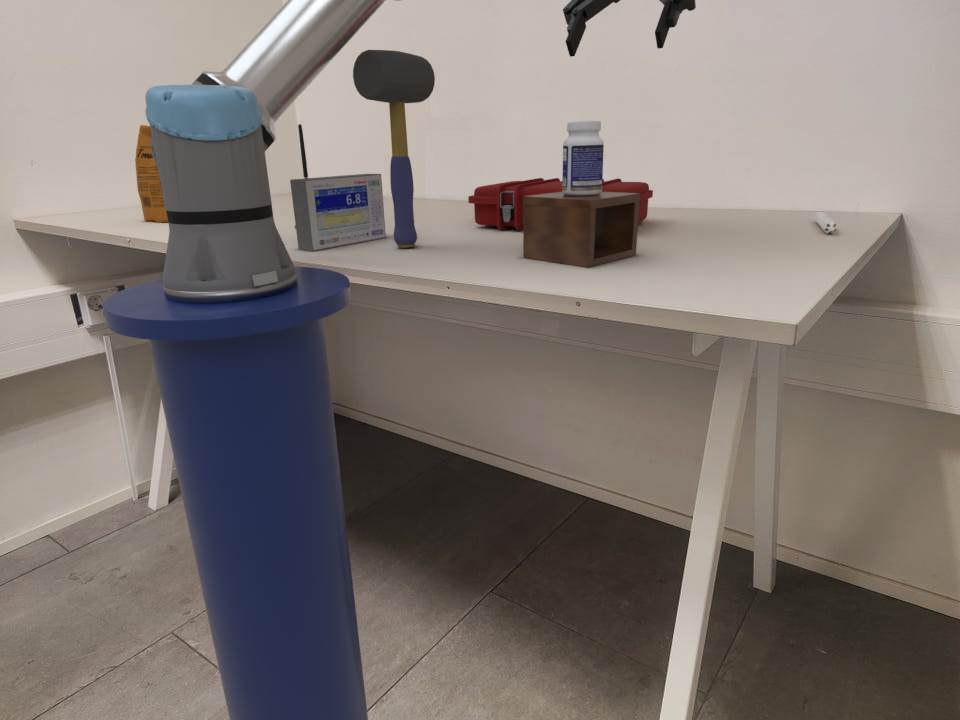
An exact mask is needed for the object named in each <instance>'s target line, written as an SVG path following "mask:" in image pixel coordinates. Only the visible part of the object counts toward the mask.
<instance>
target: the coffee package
mask: <svg viewBox="0 0 960 720" xmlns="http://www.w3.org/2000/svg"><path fill="white" fill-rule="evenodd" d="M151 136H152V135H151V129H150V125H144V124H140V125H139V130H138V135H137V144H136V149H135V159H134V161H135V174H136V175H135V176H136V186H137V187H136V188H137V193H138V196H139V201H140V204H141V210H142V215H143V220H144V222H156V223H168V218H167V213H166V208H165V203H164V198H163V192H162V187H161V182H160V177H159V171H158V166H157V164H156V162H155V160H154V157H153V154H152V152H153V151H152V148H151Z"/></svg>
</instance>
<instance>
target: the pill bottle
mask: <svg viewBox="0 0 960 720" xmlns="http://www.w3.org/2000/svg"><path fill="white" fill-rule="evenodd" d="M601 130H602V121H601V120H580V121H579V120H577V121H576V120H575V121H568V122H567V123H566V131H567V134H568V137H567V138H566V139H564V141H563V142H562V143H563V144H562V178H561V179H562V180H561V181H562V192H563V194H564V195H568V196H591V195H599V194H600V193H601V192H602V179H603V175H604V174H603V173H604V149H605V144H604V140H603V139H602V138H601V137H600V135H599V134H600V132H601Z"/></svg>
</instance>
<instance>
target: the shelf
mask: <svg viewBox="0 0 960 720" xmlns="http://www.w3.org/2000/svg"><path fill="white" fill-rule="evenodd" d="M639 198H640V194H639V193H619V192H601V193H600V194H599V195H591V196H568V195H564V194H563V192H555V193H547V194H538V195H530V196H524V197H523V204H524V205H523V230H522V232H523V233H522V235H523V238H522V239H523V240H522V241H523V242H522V245H523V248H522V250H523V251H522V254H523V255H522V257H523V258H524V259H529V260H536V261H542V262H549V263H550V262H551V263H556V264H564V265H570V266H575V267H577V266H578V267H583V268H591V267H595V266H596V267H597V266H599V265H603V264H607V263H612V262H614V261H615V262H616V261H620V260H623V259H628V258H630V257H634V256H636V255H637V246H638V229H639V223H638V214H639Z"/></svg>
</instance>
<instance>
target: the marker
mask: <svg viewBox="0 0 960 720" xmlns="http://www.w3.org/2000/svg"><path fill="white" fill-rule="evenodd" d="M814 221H815V222H816V223H817V224H818V226H819V227H820V228H821V229H822V230H823V232H824V233H825V234H828V235H832V234H834V233H836V232H837V230H838V226H837V223H836V222H835V221H834V220H833V219H831V217H830V216H829V215H828V214H827V213H826V212H824V211H819V212H816V213H815V215H814Z"/></svg>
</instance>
